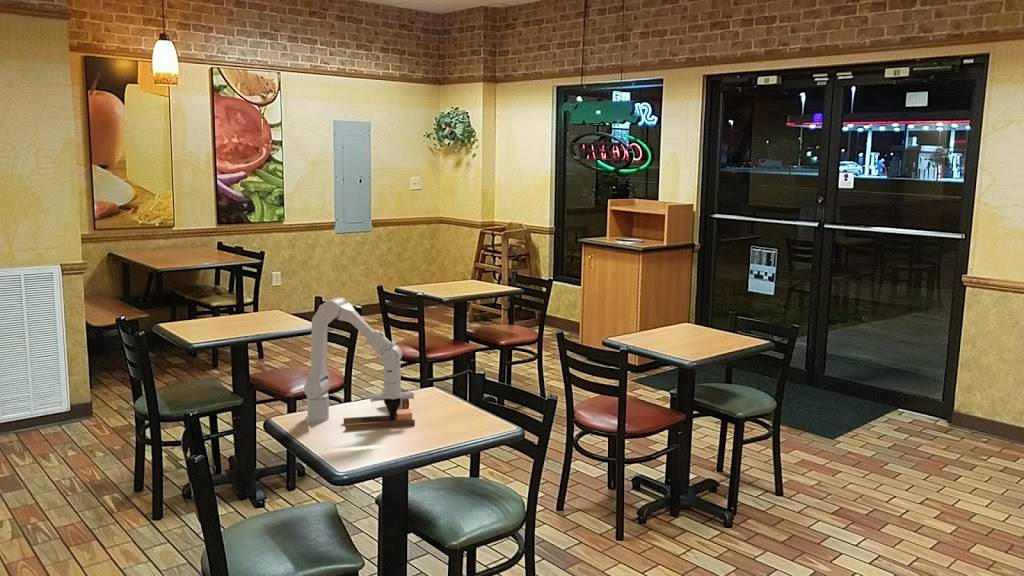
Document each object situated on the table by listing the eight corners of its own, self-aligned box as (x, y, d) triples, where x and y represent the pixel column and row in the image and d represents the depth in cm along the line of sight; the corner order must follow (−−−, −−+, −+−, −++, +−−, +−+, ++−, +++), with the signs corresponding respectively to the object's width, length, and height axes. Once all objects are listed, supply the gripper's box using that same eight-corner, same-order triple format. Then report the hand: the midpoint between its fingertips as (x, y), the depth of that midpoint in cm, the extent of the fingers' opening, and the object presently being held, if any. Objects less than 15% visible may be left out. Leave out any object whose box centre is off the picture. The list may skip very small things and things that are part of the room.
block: (395, 421, 281) (395, 409, 280) (409, 420, 282) (409, 409, 282) (397, 425, 276) (397, 414, 276) (412, 424, 278) (412, 413, 277)
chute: (343, 426, 277) (343, 418, 277) (410, 421, 284) (410, 413, 284) (345, 433, 270) (345, 425, 269) (414, 428, 276) (414, 420, 276)
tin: (410, 414, 293) (410, 391, 292) (402, 415, 291) (402, 392, 290) (388, 404, 305) (388, 382, 303) (381, 406, 303) (381, 384, 301)
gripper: (372, 385, 270) (372, 425, 272) (415, 383, 274) (415, 422, 276) (369, 380, 277) (369, 419, 279) (411, 378, 281) (411, 416, 283)
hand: (392, 420), depth 278 cm, fingers closed
